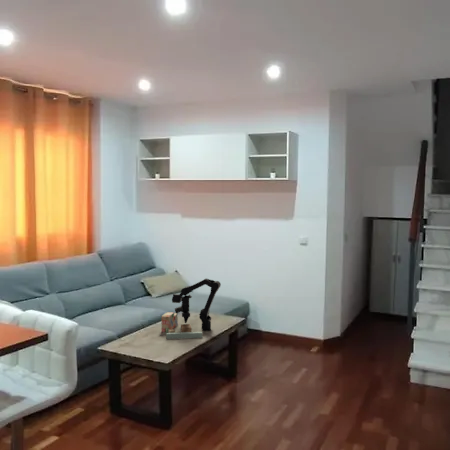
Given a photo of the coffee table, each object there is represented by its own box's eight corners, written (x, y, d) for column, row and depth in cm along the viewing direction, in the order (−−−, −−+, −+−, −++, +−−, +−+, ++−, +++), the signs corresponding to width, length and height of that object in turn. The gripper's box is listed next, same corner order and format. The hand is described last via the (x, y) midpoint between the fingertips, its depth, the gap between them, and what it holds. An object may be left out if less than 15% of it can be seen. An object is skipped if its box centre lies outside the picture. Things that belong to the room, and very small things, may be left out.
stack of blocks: (170, 324, 394) (170, 309, 393) (177, 324, 392) (177, 309, 391) (161, 331, 373) (161, 315, 372) (169, 332, 371) (169, 316, 370)
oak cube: (173, 334, 366) (173, 329, 366) (175, 335, 362) (175, 330, 362) (168, 335, 365) (168, 329, 364) (169, 336, 361) (169, 331, 361)
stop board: (201, 336, 361) (201, 331, 361) (202, 337, 358) (202, 332, 358) (166, 337, 358) (166, 332, 358) (166, 338, 355) (166, 334, 355)
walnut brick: (189, 330, 377) (189, 324, 377) (191, 334, 368) (191, 327, 367) (180, 330, 376) (180, 324, 376) (182, 334, 366) (182, 328, 366)
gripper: (174, 300, 389) (174, 320, 391) (175, 306, 371) (175, 326, 372) (188, 300, 391) (188, 319, 392) (190, 306, 372) (190, 326, 373)
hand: (185, 323), depth 382 cm, fingers closed
